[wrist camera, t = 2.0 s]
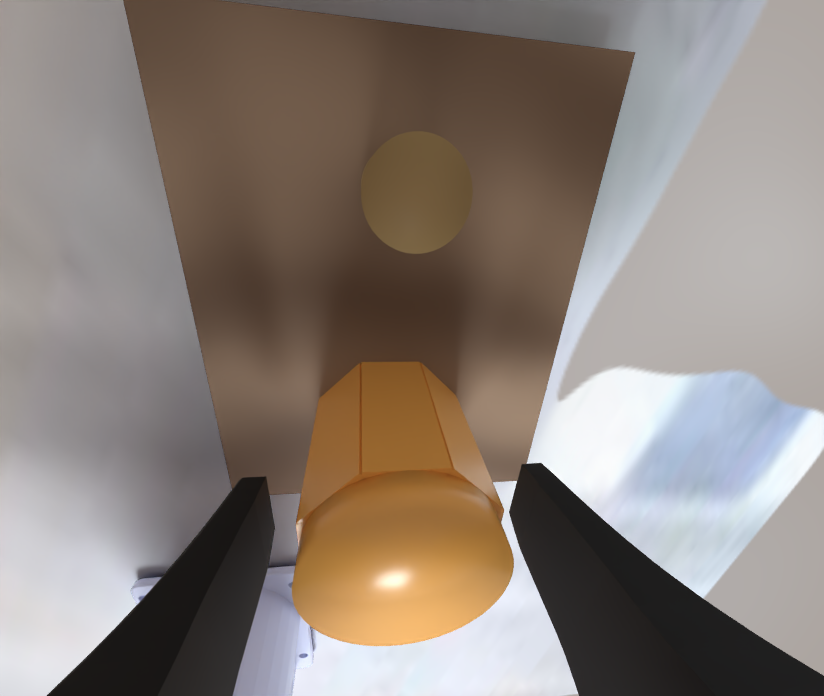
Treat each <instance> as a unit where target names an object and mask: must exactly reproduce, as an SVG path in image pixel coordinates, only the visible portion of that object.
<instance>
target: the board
mask: <svg viewBox="0 0 824 696" xmlns="http://www.w3.org/2000/svg"><path fill="white" fill-rule="evenodd" d="M123 1H124V6H125V10H126V15H127V19H128V24H129V28H130V33H131V37H132V42H133V46H134V51H135V55H136V60H137V64H138V69H139V73H140V78H141V82H142V87H143V91H144V96H145V100H146V105H147V109H148V114H149V118H150V123H151V127H152V132H153V136H154V141H155V145H156V150H157V154H158V158H159V163H160V167H161V172H162V176H163V181H164V185H165V190H166V194H167V199H168V203H169V208H170V212H171V217H172V221H173V226H174V230H175V235H176V239H177V244H178V248H179V253H180V257H181V262H182V266H183V271H184V275H185V280H186V284H187V289H188V293H189V298H190V302H191V307H192V311H193V316H194V320H195V325H196V329H197V334H198V338H199V343H200V347H201V352H202V356H203V361H204V365H205V370H206V374H207V379H208V383H209V388H210V392H211V397H212V401H213V406H214V410H215V415H216V419H217V424H218V428H219V433H220V437H221V442H222V446H223V451H224V455H225V460H226V464H227V469H228V473H229V478H230V482H231V487H232V489H233V488H234V486H235V485H236V484H237V482H238V481H239V480H240V479H241V478H243V477H264V476H266V477H267V484H268V490H269V495H276V494H294V493H302V487H303V482H304V477H305V471H306V466H307V460H308V455H309V449H310V444H311V439H312V433H313V428H314V422H315V417H316V411H317V406H318V401H319V398H320V397H321V396H323V395H324V394H325V393H326V392H327V391H328V390H329V389H331V388H332V387H333V386H334V385H335V384H336V383H337V382H338V381H340V380H341V379H342V378H343V377H344V376H345V375H346V374H348V373H349V372H350V371H351V370H352V369H353V368H354V367H355V366H357V365H358V364H359V363H361V362H420V363H422V364H423V365H425V366H426V367H427V368H428V369H429V370H430V371H431V372H432V373H433V374H434V375H435V376H436V377H437V378H438V379H439V380H440V381H441V382H442V383H443V384H445V385H446V386H447V387H448V388H449V389H450V390H451V391H452V392H453V393H454V394H455V395H456V397H457V399H458V401H459V404H460V406H461V409H462V411H463V413H464V416H465V418H466V420H467V423H468V425H469V428H470V430H471V432H472V435H473V437H474V439H475V442H476V444H477V447H478V449H479V451H480V454H481V456H482V458H483V461H484V463H485V466H486V468H487V470H488V473H489V475H490V477H491V480H492V482H503V481H517V480H518V476H519V473H520V469H521V465H522V464H526V463H527V460H528V456H529V452H530V448H531V444H532V441H533V437H534V433H535V429H536V426H537V422H538V418H539V414H540V410H541V407H542V403H543V399H544V395H545V392H546V388H547V384H548V380H549V376H550V373H551V369H552V365H553V361H554V358H555V354H556V350H557V346H558V342H559V339H560V335H561V331H562V327H563V324H564V320H565V316H566V312H567V308H568V305H569V301H570V297H571V293H572V290H573V286H574V282H575V278H576V274H577V271H578V267H579V263H580V259H581V255H582V252H583V248H584V244H585V240H586V237H587V233H588V229H589V225H590V221H591V218H592V214H593V210H594V206H595V203H596V199H597V195H598V191H599V187H600V184H601V180H602V176H603V172H604V169H605V165H606V161H607V157H608V153H609V150H610V146H611V142H612V138H613V135H614V131H615V127H616V123H617V119H618V116H619V112H620V108H621V104H622V101H623V97H624V93H625V89H626V85H627V82H628V78H629V74H630V70H631V67H632V63H633V59H634V55H635V52H628V51H620V50H612V49H604V48H596V47H588V46H580V45H572V44H564V43H556V42H548V41H540V40H532V39H524V38H516V37H508V36H500V35H492V34H484V33H476V32H468V31H460V30H452V29H444V28H436V27H428V26H420V25H412V24H404V23H396V22H388V21H380V20H372V19H364V18H356V17H348V16H340V15H332V14H324V13H316V12H308V11H300V10H292V9H284V8H276V7H268V6H260V5H252V4H244V3H236V2H228V1H220V0H123Z"/></svg>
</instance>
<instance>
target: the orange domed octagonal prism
mask: <svg viewBox="0 0 824 696" xmlns="http://www.w3.org/2000/svg"><path fill="white" fill-rule="evenodd" d="M503 513H504V508H503V506H502V504H501V501H500V499H499V496H498V494H497V492H496V489H495V487H494V485H493V482H492V480H491V477H490V475H489V473H488V470H487V468H486V466H485V463H484V461H483V458H482V456H481V454H480V451H479V449H478V447H477V444H476V442H475V439H474V437H473V435H472V432H471V430H470V428H469V425H468V423H467V420H466V418H465V416H464V413H463V411H462V409H461V406H460V404H459V401H458V399H457V397H456V395H455V394H454V393H453V392H452V391H451V390H450V389H449V388H448V387H447V386H446V385H445V384H443V383H442V382H441V381H440V380H439V379H438V378H437V377H436V376H435V375H434V374H433V373H432V372H431V371H430V370H429V369H428V368H427V367H426V366H425V365H423V364H422V363H420V362H361V363H359V364H358V365H357V366H355V367H354V368H353V369H352V370H351V371H350V372H349V373H348V374H346V375H345V376H344V377H343V378H342V379H341V380H340V381H338V382H337V383H336V384H335V385H334V386H333V387H332V388H331V389H329V390H328V391H327V392H326V393H325V394H324V395H323V396H321V397H320V398H319V401H318V406H317V411H316V417H315V422H314V428H313V433H312V439H311V444H310V449H309V455H308V460H307V466H306V471H305V477H304V482H303V487H302V493H301V498H300V504H299V509H298V515H297V520H296V532H297V540H298V553H297V559H296V565H295V571H294V577H293V583H292V599H293V603H294V606H295V608H296V610H297V612H298V614H299V615H300V616H301V617H302V619H303V620H304V621H305V622H306V623H307V624H309V625H310V626H311V627H312V628H314V629H315V630H317V631H318V632H320V633H322V634H324V635H326V636H328V637H331V638H334V639H337V640H339V641H343V642H347V643H352V644H359V645H368V646H393V645H403V644H410V643H416V642H420V641H425V640H428V639H432V638H435V637H439V636H441V635H444V634H447V633H449V632H452V631H454V630H456V629H458V628H460V627H462V626H464V625H466V624H468V623H470V622H471V621H473V620H474V619H476V618H477V617H479V616H480V615H482V614H483V613H484V612H486V611H487V610H488V609H489V608H490V607H491V606H492V605H493V604H494V603H495V602H496V601H497V600H498V599H499V598H500V597H501V595H502V594H503V593H504V591H505V589H506V588H507V586H508V584H509V582H510V579H511V577H512V573H513V568H514V558H513V554H512V550H511V547H510V545H509V542H508V540H507V537H506V535H505V532H504V529H503V527H502V524H501V521H502V517H503Z"/></svg>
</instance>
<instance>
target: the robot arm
mask: <svg viewBox="0 0 824 696" xmlns="http://www.w3.org/2000/svg"><path fill="white" fill-rule="evenodd" d="M509 513H510V517H511V520H512V524H513V527H514V531H515V534H516V537H517V540H518V543H519V547H520V549H521V552H522V554H523V557H524V559H525V561H526V564H527V566H528V568H529V571H530V573H531V575H532V578H533V580H534V582H535V585H536V587H537V589H538V592H539V594H540V596H541V598H542V601H543V603H544V605H545V608H546V610H547V612H548V615H549V617H550V619H551V621H552V624H553V626H554V628H555V631H556V633H557V635H558V638H559V640H560V643H561V645H562V648H563V651H564V653H565V656H566V659H567V661H568V664H569V667H570V670H571V673H572V676H573V679H574V682H575V685H576V688H577V691H578V694H579V696H824V676H823V675H822V674H820V673H818V672H817V671H815V670H813V669H811V668H810V667H808V666H806V665H805V664H803V663H802V662H800V661H798V660H797V659H795V658H793V657H791V656H790V655H788V654H786V653H785V652H783V651H782V650H780V649H779V648H777V647H775V646H774V645H772V644H770V643H769V642H767V641H766V640H764V639H763V638H761V637H759V636H758V635H756V634H755V633H753V632H752V631H750V630H748V629H747V628H745V627H744V626H743V625H741V624H740V623H738V622H737V621H735V620H733V619H732V618H731V617H729V616H728V615H726V614H724V613H723V612H722V611H720V610H719V609H717V608H716V607H714V606H713V605H711V604H710V603H709V602H707V601H706V600H704V599H703V598H701V597H700V596H699V595H697V594H696V593H694V592H693V591H692V590H690V589H689V588H688V587H686V586H685V585H684V584H682V583H681V582H680V581H678V580H677V579H675V578H674V577H673V576H671V575H670V574H669V573H667V572H666V571H665V570H663V569H662V568H661V567H660V566H658V565H657V564H656V563H654V562H653V561H652V560H651V559H649V558H648V557H647V556H646V555H644V554H643V553H642V552H641V551H640V550H638V549H637V548H636V547H635V546H633V545H632V544H631V543H630V542H629V541H627V540H626V539H625V538H624V537H623V536H621V535H620V534H619V533H618V532H617V531H616V530H614V529H613V528H612V527H611V526H610V525H609V524H607V523H606V522H605V521H604V520H603V519H602V518H601V517H600V516H598V515H597V514H596V513H595V512H594V511H593V510H592V509H591V508H590V507H588V506H587V505H586V504H585V503H584V502H583V501H582V500H581V499H580V498H579V497H578V496H576V495H575V494H574V493H573V492H572V491H571V490H570V489H569V488H568V487H567V486H566V485H565V484H564V483H562V482H561V481H560V480H559V479H558V478H557V477H556V476H555V475H554V474H553V473H552V472H551V471H550V470H548V469H547V468H546V467H545V466H544V465H543V464H542V463H533V464H522V465H521V469H520V473H519V476H518V480H517V484H516V488H515V492H514V496H513V499H512V503H511V507H510V511H509ZM274 530H275V526H274V520H273V514H272V508H271V502H270V496H269V490H268V484H267V477H266V476H264V477H243V478H241V479H240V480H239V481H238V482H237V484H236V485H235V486H234V488H233V489H232V491H231V492H230V493H229V495H228V496H227V497H226V499H225V500H224V501H223V503H222V504H221V505H220V507H219V508H218V509H217V511H216V512H215V513H214V514H213V516H212V517H211V518H210V520H209V521H208V522H207V523H206V525H205V526H204V527H203V529H202V530H201V531H200V532H199V533H198V535H197V536H196V537H195V538H194V540H193V541H192V542H191V543H190V544H189V546H188V547H187V548H186V549H185V551H184V552H183V553H182V554H181V556H180V557H179V558H178V559H177V560H176V561H175V563H174V564H173V565H172V566H171V567H170V568H169V569H168V571H167V572H166V573H165V574H164V575H163V576H162V577H155V578H143V579H139V580H137V581H136V582H135V583H134V585H133V587H132V588H131V594H132V596H133V598H134V600H135V602H136V604H137V605H136V607H135V608H134V609H133V610H132V611H131V612H130V613H129V614H128V615H127V616H126V617H125V618H124V619H123V620H122V621H121V623H120V624H119V625H118V626H117V627H116V628H115V629H114V630H113V631H112V632H111V633H110V634H109V635H108V636H107V637H106V638H105V639H104V640H103V641H102V642H101V643H100V644H99V645H98V646H97V647H96V648H95V649H94V650H93V651H92V652H91V653H90V654H89V655H88V656H87V657H86V658H85V659H84V660H83V661H82V662H81V663H80V664H79V665H78V666H77V667H76V668H75V669H74V670H73V671H72V672H71V673H70V674H69V675H68V676H66V677H65V678H64V679H63V680H62V681H61V682H60V683H59V684H58V685H57V686H56V687H55V688H54V689H53V690H52V691H51V692H50V693H49V694H48V695H47V696H292V694H293V686H294V678H295V671H296V669H300V668H307V667H310V666H311V665H312V664H313V658H314V655H313V646H312V638H311V629H310V625H309V624H307V623H306V622H305V621H304V620H303V619H302V617H301V616H300V615H299V614H298V612H297V610H296V608H295V606H294V603H293V599H292V583H293V577H294V571H295V566H285V567H273V568H268V564H269V559H270V553H271V548H272V542H273V536H274Z"/></svg>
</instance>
